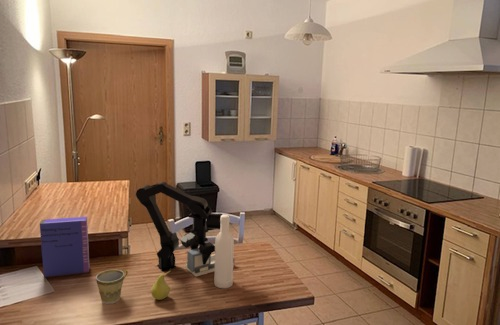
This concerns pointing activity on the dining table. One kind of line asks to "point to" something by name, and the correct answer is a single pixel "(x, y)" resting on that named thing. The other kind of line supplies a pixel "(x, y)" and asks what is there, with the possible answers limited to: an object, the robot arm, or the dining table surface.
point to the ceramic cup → (110, 285)
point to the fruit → (160, 288)
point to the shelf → (205, 267)
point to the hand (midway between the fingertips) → (199, 260)
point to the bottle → (224, 255)
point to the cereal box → (64, 246)
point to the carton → (195, 259)
